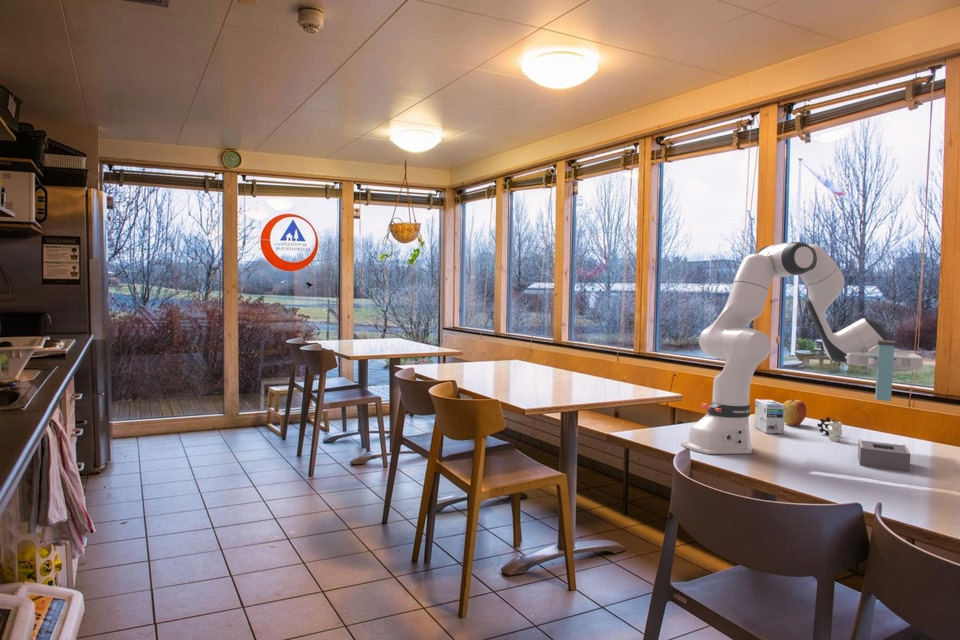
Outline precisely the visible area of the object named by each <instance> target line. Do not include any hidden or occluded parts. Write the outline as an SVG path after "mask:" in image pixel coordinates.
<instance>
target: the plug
mask: <svg viewBox="0 0 960 640" xmlns="http://www.w3.org/2000/svg"><path fill="white" fill-rule="evenodd" d="M877 343H878V365H877V372H876V380H875V395H874V398H875V400H876V401H885V402H892V389H893V387H892V386H893V374H894V372H893V361H894V348H895V347H896V346H897V342H896V341H895V340H889V341H885V340H878V342H877Z"/></svg>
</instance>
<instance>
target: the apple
mask: <svg viewBox="0 0 960 640" xmlns="http://www.w3.org/2000/svg"><path fill="white" fill-rule="evenodd" d="M782 404H784V405H785V419H784V424H786V425H788V426H795V427H796V426H799V425H801V424H802V423H803V421H804V420H805V418H806V416H807V406H806V404H805V403H804V402H803V401H801V400H798V399H794V398H792V399H789V400H786V401H784V402H783V403H782Z"/></svg>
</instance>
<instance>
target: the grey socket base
mask: <svg viewBox="0 0 960 640" xmlns="http://www.w3.org/2000/svg"><path fill="white" fill-rule="evenodd" d="M857 460H858V464H859V466H861V467H868V468H875V469H876V468H878V469H885V470H892V471H898V472H899V471H900V472H907V473H910V468H911V467H910V466H911V451H910V450H909V448H908V447H907V445H906V444H903V443H902V444H897V443H894V444H893V443H886V442H877V441H868V440H862V439H860V438H859V439H858V446H857Z"/></svg>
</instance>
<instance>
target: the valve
mask: <svg viewBox="0 0 960 640" xmlns="http://www.w3.org/2000/svg"><path fill="white" fill-rule="evenodd" d="M819 421H820V422H821V423H817V426H816V427H818V428H820V429H819V433H821V434H822V433H824V432H825V433H824V434H825V435H826V434H827V435H826V436H828V440H829V441H830V440H831V441H830V442H834V441H841V442H842V435H843V429H842V427H843V423H842V421H836V420H835V419H833V418H832V420H831V417H829V416H826V417H825V419H824V418H820V419H819ZM827 422H829V423H827ZM824 427H825V428H824Z"/></svg>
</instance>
